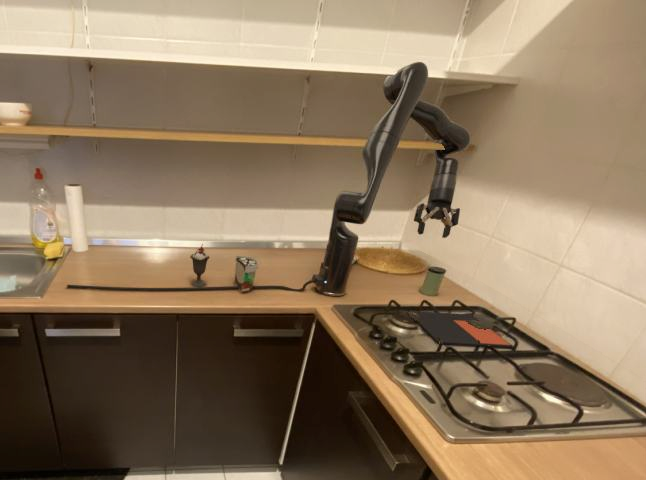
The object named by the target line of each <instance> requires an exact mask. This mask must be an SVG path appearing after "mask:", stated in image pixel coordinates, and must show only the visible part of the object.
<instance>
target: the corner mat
mask: <svg viewBox="0 0 646 480" xmlns="http://www.w3.org/2000/svg"><path fill="white" fill-rule="evenodd" d="M411 311H412V313H413V311H414V310H411ZM417 311H418V310H417ZM417 311H416V310H415V312H414V313H417V314H418V315H419V319H420V324H421V325H420V326H419V328H421V329H422V330H423V331H424V332H425V333H426V334H427V335H428V336H429V338H431V340H433V341H434V342H435V343H436V344H437V345H440V344H439V340H438V338H437V337H439V338H440V339H441V340H442V342H443V343H442V346H443V345H444V346H460V347H473V348H474V347H476V348H487V347H486V346H488V345H490V346H491V347H492V348H493V349H509V350H511V349H512V350H513V349H514V347H515V346H514V345H513V344H511V343H510V342H509V341H508V340H506V339H505V338H504V337H502V336H501V335H500V334H498V333H497V332H495V331H494V330H492V329H491V328H490V329H486V330H484V329H478V328H475V327H474V326H472V325H470V324H468V322H466V321H468V320H476V321H480V320H479V319H478V318H477V317H476V316H474V315H473V314H470V313H469V314H467V313H454V312H453V313H451V312H435V311H418V312H417ZM478 340H479V341H480V346H479V347H477V344H478ZM491 347H490V348H491ZM492 348H491V349H492Z"/></svg>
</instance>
